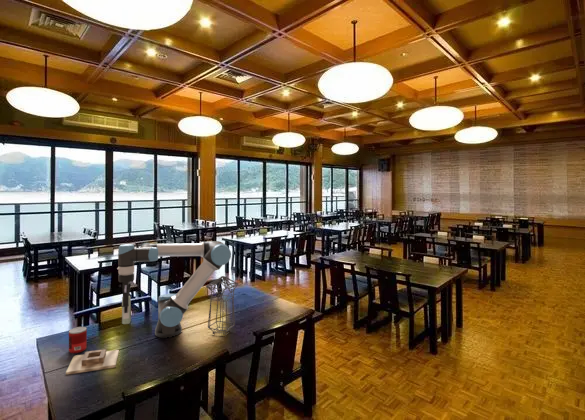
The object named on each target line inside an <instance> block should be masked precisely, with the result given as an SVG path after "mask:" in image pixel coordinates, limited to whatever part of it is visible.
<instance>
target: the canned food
mask: <svg viewBox="0 0 585 420" xmlns="http://www.w3.org/2000/svg"><path fill="white" fill-rule="evenodd" d="M87 337H88V330H87V327H86V326H77V327H74V328H73V327H72V328H70V330H69V331H68V352H69V353H70V354H78V353H82V352H85V350H87V347H88V346H87V345H88V344H87V343H88V341H87V339H88V338H87Z"/></svg>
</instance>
